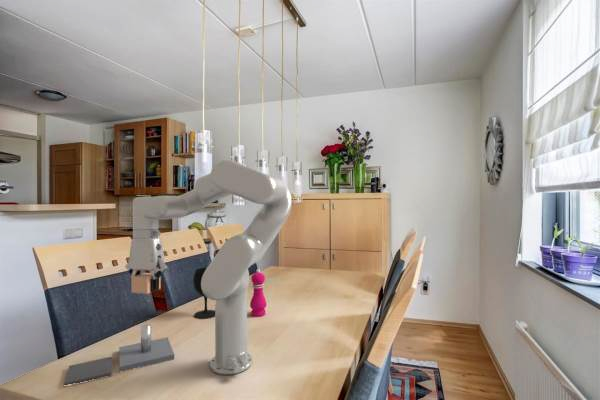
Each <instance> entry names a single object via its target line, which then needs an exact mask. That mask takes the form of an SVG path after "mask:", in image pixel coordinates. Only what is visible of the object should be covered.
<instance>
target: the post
mask: <svg viewBox="0 0 600 400" xmlns="http://www.w3.org/2000/svg"><path fill="white" fill-rule="evenodd" d="M151 341H152V324H150V323H146V324H142V325H141V326H140V343H141V353H147V352H149V351H151Z"/></svg>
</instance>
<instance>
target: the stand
mask: <svg viewBox="0 0 600 400" xmlns="http://www.w3.org/2000/svg"><path fill="white" fill-rule="evenodd" d="M118 356H119V357H118V359H119V361H118V363H119V364H118V365H119V372H120V371H123V372H126V371H125V370H127V371H130V370H129V369H131V370H134V369H133V368H136V369H139V368H138V367H140V368H144V367H147V365H148V366H151V365H156V364H159V363H164V362H168V361H173V360H175V353H174V350H173V348H172V345H171V342H170V340H169V337H163V338H162V337H161V338H158V339H153V340H152V339H151V351H149V352H147V353H141V342H138V343H134V344H133V343H132V344H129V345H122V346H119V347H118ZM143 366H144V367H143Z"/></svg>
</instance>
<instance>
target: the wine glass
mask: <svg viewBox="0 0 600 400" xmlns="http://www.w3.org/2000/svg"><path fill="white" fill-rule="evenodd" d="M206 269H207V267H201V268H197V269H195V271H194V275H193V281H192V282H193V286H194V289H195V291H196V292H197V293H198V294H199V295H201V296H202V298H204V310H200V311H196V312H195V313H193V318H195V319H199V320H207V319H212V318H215V309H214V310H213V309H208V298H207V297H206V296H205V295H204V293H203V291H202V288H201V279H202V276H203V274H204V272H205V270H206Z"/></svg>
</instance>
